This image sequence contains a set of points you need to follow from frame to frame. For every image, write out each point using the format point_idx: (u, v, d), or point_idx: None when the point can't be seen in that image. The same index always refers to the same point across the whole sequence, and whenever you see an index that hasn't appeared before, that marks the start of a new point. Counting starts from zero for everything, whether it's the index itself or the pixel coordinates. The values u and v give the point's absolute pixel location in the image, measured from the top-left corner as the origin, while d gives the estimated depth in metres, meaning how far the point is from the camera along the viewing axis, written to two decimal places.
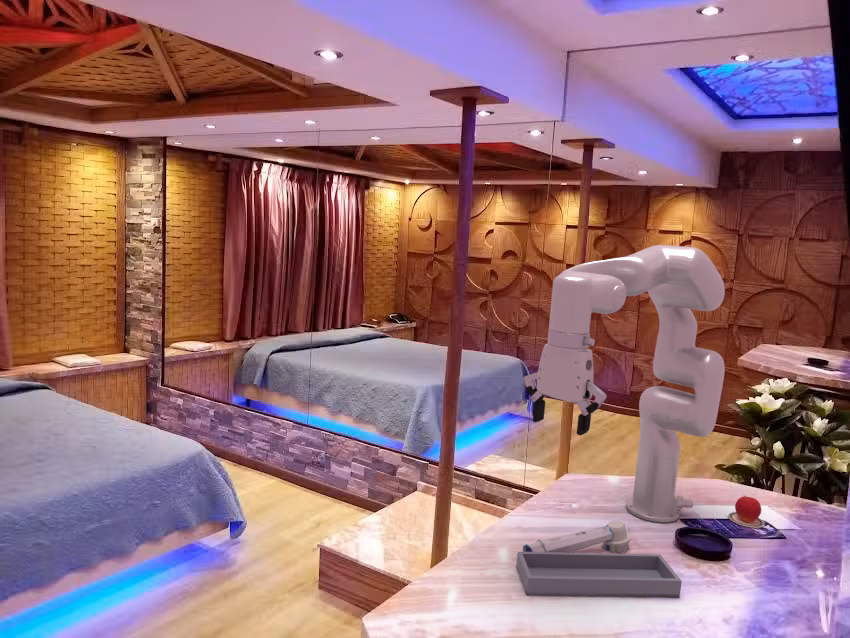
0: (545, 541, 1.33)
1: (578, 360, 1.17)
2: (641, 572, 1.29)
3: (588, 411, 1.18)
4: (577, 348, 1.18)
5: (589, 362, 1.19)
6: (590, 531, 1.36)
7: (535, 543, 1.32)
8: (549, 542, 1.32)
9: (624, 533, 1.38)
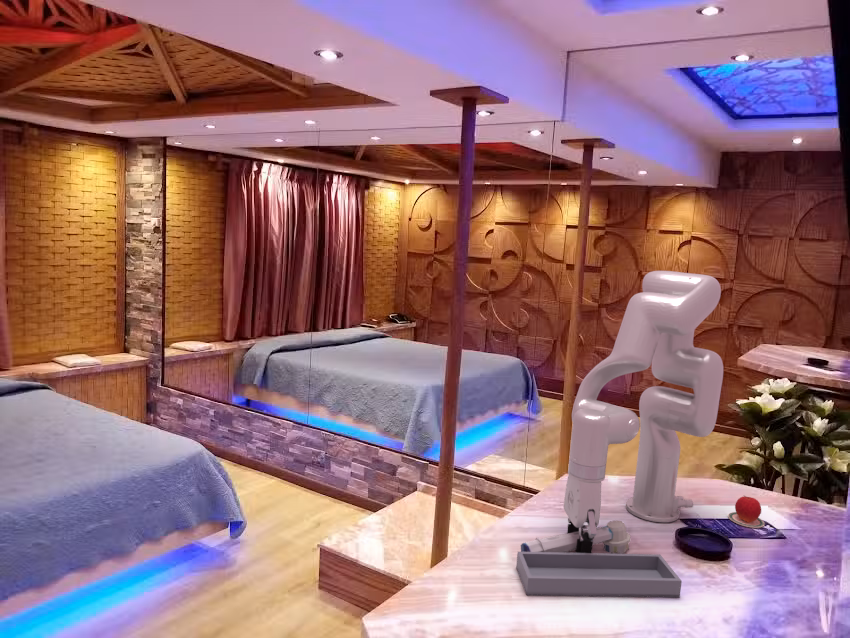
0: (543, 540, 1.33)
1: None
2: (641, 572, 1.29)
3: None
4: None
5: None
6: None
7: (533, 542, 1.32)
8: (547, 541, 1.32)
9: (624, 533, 1.37)
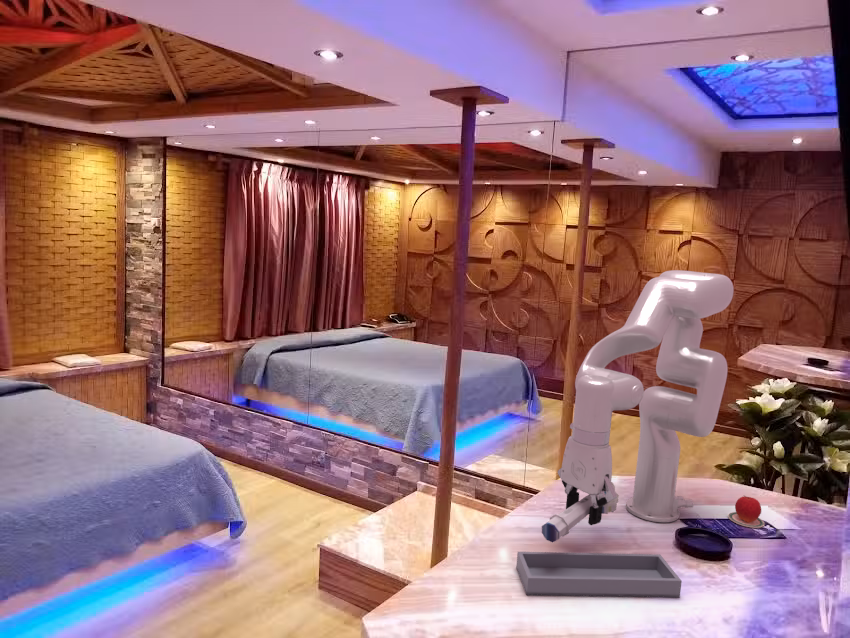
0: (561, 515, 1.29)
1: None
2: (641, 572, 1.29)
3: None
4: None
5: None
6: (590, 496, 1.36)
7: (554, 519, 1.27)
8: (566, 515, 1.28)
9: None
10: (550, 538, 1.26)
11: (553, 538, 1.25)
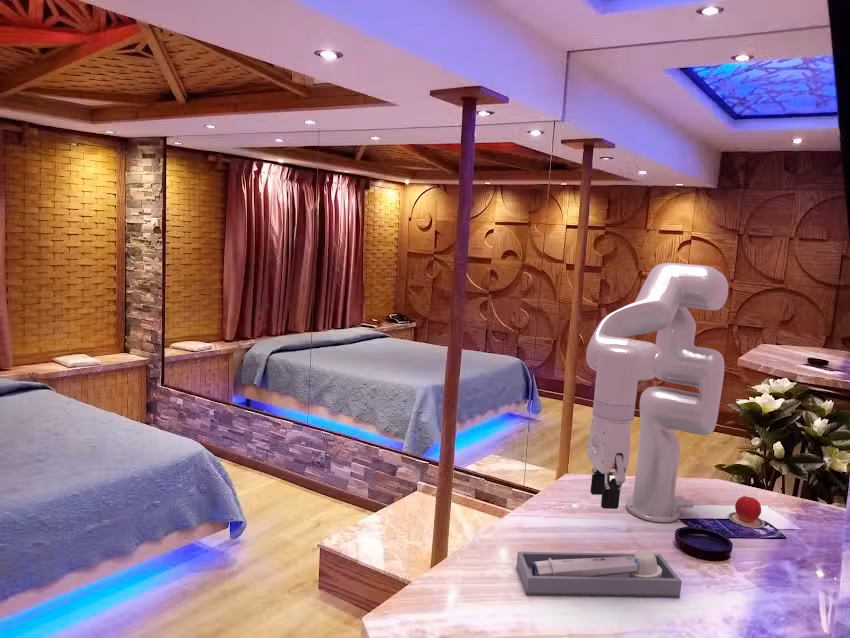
0: (555, 561, 1.23)
1: None
2: None
3: None
4: None
5: None
6: (611, 558, 1.24)
7: (543, 562, 1.23)
8: (559, 563, 1.22)
9: (652, 567, 1.23)
10: None
11: None
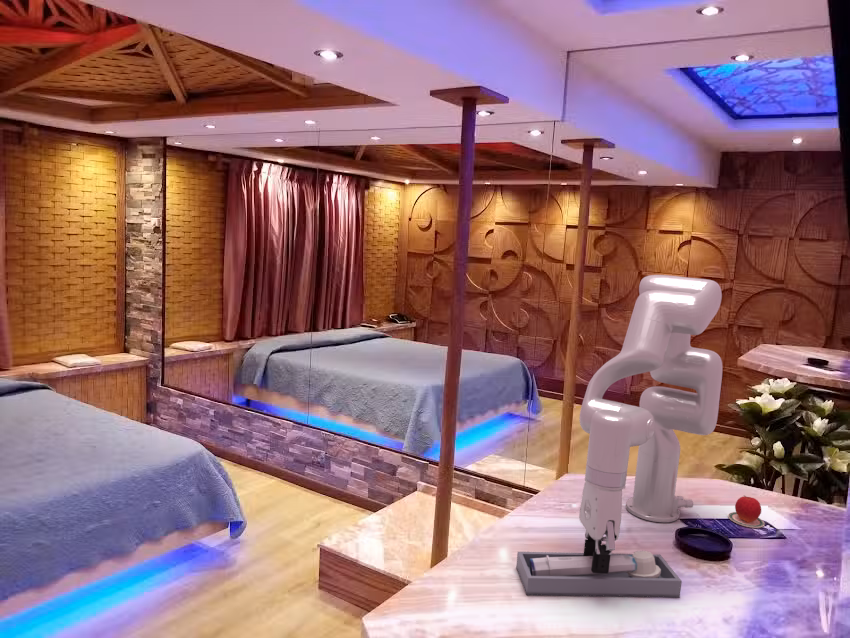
0: (552, 559, 1.24)
1: None
2: None
3: None
4: None
5: None
6: None
7: (541, 559, 1.24)
8: (556, 560, 1.23)
9: (650, 566, 1.23)
10: None
11: None
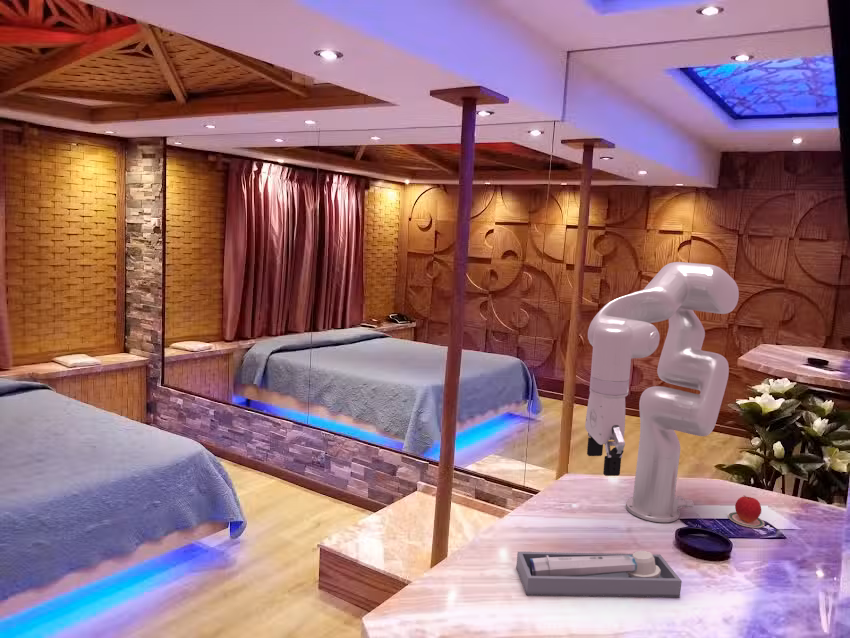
0: (552, 559, 1.24)
1: None
2: None
3: None
4: None
5: None
6: (609, 557, 1.24)
7: (541, 559, 1.24)
8: (556, 561, 1.23)
9: (650, 567, 1.23)
10: None
11: None
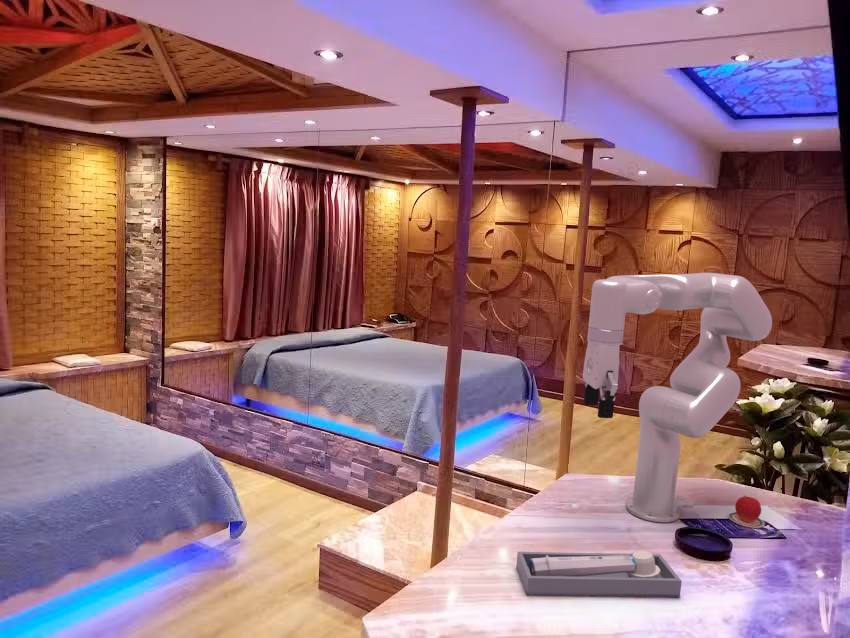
0: (552, 559, 1.24)
1: None
2: None
3: None
4: None
5: None
6: (608, 557, 1.24)
7: (540, 559, 1.24)
8: (555, 561, 1.23)
9: (650, 566, 1.23)
10: None
11: None
